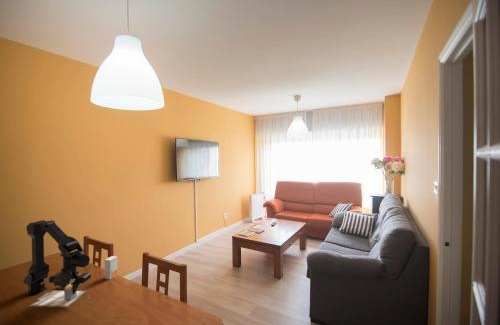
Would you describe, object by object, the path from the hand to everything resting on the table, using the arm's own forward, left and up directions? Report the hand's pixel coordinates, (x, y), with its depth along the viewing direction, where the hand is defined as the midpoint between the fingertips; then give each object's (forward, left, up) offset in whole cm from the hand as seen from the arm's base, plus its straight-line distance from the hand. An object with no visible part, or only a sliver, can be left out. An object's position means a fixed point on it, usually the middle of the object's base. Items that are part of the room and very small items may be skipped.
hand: (70, 293), depth 122 cm
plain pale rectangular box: (-12, +11, -3) cm, 16 cm away
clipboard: (-6, 0, -3) cm, 7 cm away
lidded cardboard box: (0, 0, -2) cm, 2 cm away
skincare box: (+7, +23, -3) cm, 24 cm away
